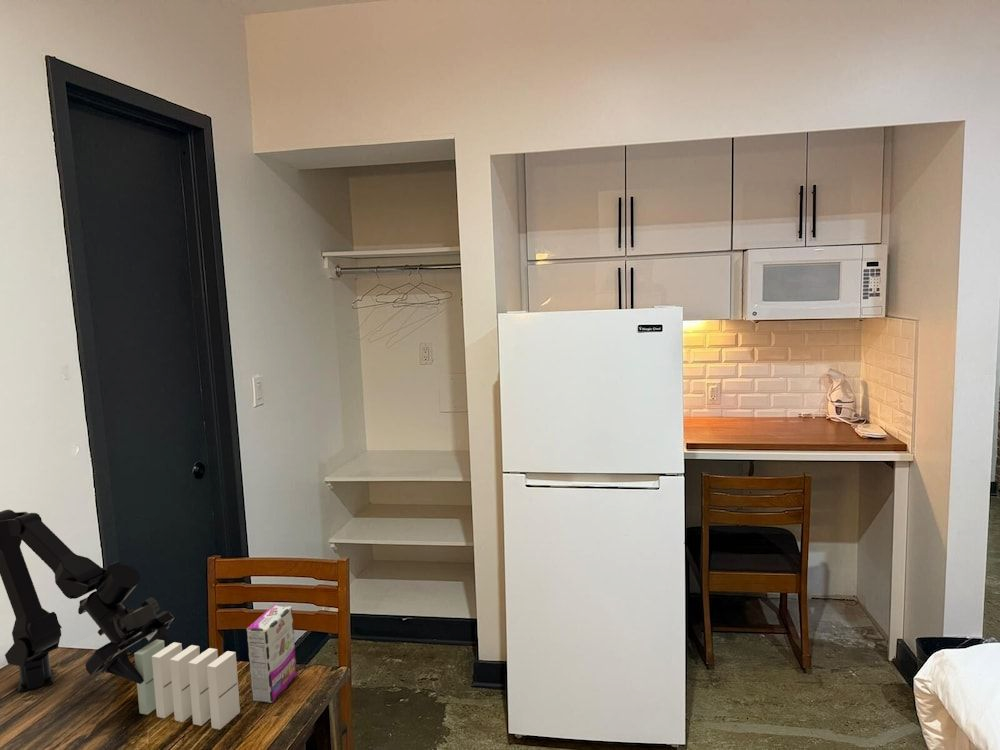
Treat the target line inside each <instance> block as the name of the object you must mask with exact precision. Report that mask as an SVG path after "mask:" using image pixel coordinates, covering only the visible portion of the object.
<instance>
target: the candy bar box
mask: <svg viewBox="0 0 1000 750" xmlns="http://www.w3.org/2000/svg"><path fill="white" fill-rule="evenodd" d="M294 630H295V629H294V619H293V607H292V606H290V605H289V606H288V605H277V604H274V605H271V607H269V608H268V609H267V610H266V611H265V612H263V613H262V614H261V616H259V617H258V618H257V619H256V620H255V621H253V623H251V624H250V625H249V626H248V627H247V628H246V638H247V651H248V659H249V660H248V662H249V672H250V674H249V675H250V684H251V697H252V702H257V703H267V704H268V703H269V704H272V703H274V702H275V701H276V700H277V698H278V697H279V696H281V694H282V692H284V691H285V689H286V688H287V687H288V686H289V685H290V684H291V683H292V681H293V680H294V679H295V678H296V677H297V676H298V673H297V671H298V668H297V659H296V658H297V657H296V644H295V632H294Z"/></svg>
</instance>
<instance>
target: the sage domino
mask: <svg viewBox="0 0 1000 750" xmlns="http://www.w3.org/2000/svg"><path fill="white" fill-rule="evenodd" d="M164 648H165V644H164V640H158V639H156V640H155V641H153V642H151V643H150V644H148V645H147V646H146V645H144V647H142V648H140V649H139V650H137V651H136V652H134V653H133V657H134V667H135V668H136V669H137V670H138V672H139V673H140V674H141V676H142V678H143V679H144V681H143V682H142V683H141V684H139V683H136V689H137V700H138V701H137V702H138V710H139V712H138V713H139V714H142V715H149V714H150V713H152V712H153V711H155V710H156V700H155V689H154V678H153V666H152V656H153V655H155V654H156V653H158V652H159V651H161V650H162V649H164Z"/></svg>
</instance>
